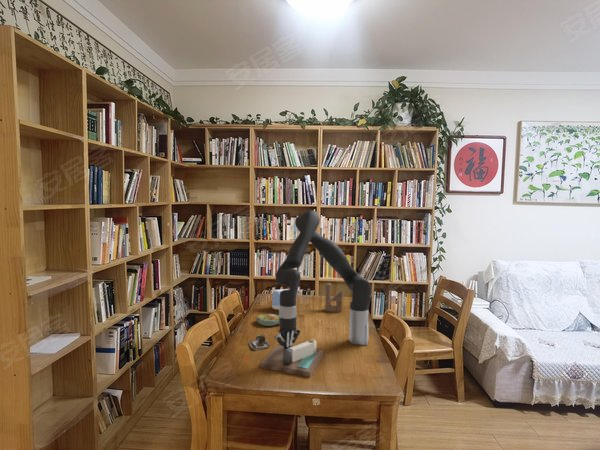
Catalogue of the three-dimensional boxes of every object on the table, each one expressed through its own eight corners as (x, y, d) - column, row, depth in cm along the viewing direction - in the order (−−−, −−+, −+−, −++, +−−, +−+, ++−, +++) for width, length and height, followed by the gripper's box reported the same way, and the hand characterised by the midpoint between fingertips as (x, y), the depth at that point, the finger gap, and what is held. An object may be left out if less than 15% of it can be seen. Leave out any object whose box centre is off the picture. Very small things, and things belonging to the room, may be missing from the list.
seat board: (323, 354, 143) (323, 350, 143) (310, 377, 124) (310, 371, 124) (278, 347, 150) (278, 343, 150) (260, 367, 131) (260, 362, 131)
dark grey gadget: (258, 334, 162) (273, 331, 156) (260, 347, 160) (276, 344, 154) (241, 339, 152) (256, 335, 146) (243, 353, 150) (259, 350, 145)
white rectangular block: (312, 349, 143) (312, 336, 143) (318, 352, 140) (318, 339, 140) (281, 361, 132) (281, 347, 131) (286, 365, 129) (286, 351, 128)
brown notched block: (341, 312, 201) (342, 285, 200) (325, 311, 202) (325, 284, 202) (341, 310, 204) (342, 283, 203) (325, 310, 206) (325, 283, 205)
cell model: (259, 315, 187) (282, 307, 184) (263, 328, 185) (286, 320, 182) (251, 318, 177) (275, 310, 173) (255, 331, 175) (279, 324, 172)
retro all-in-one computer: (263, 307, 211) (263, 287, 210) (290, 304, 218) (290, 285, 217) (272, 317, 191) (272, 295, 191) (301, 313, 198) (301, 292, 198)
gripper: (294, 309, 141) (293, 346, 142) (270, 315, 132) (269, 355, 133) (305, 313, 135) (304, 352, 136) (280, 321, 127) (280, 362, 128)
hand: (287, 354), depth 135 cm, fingers closed
